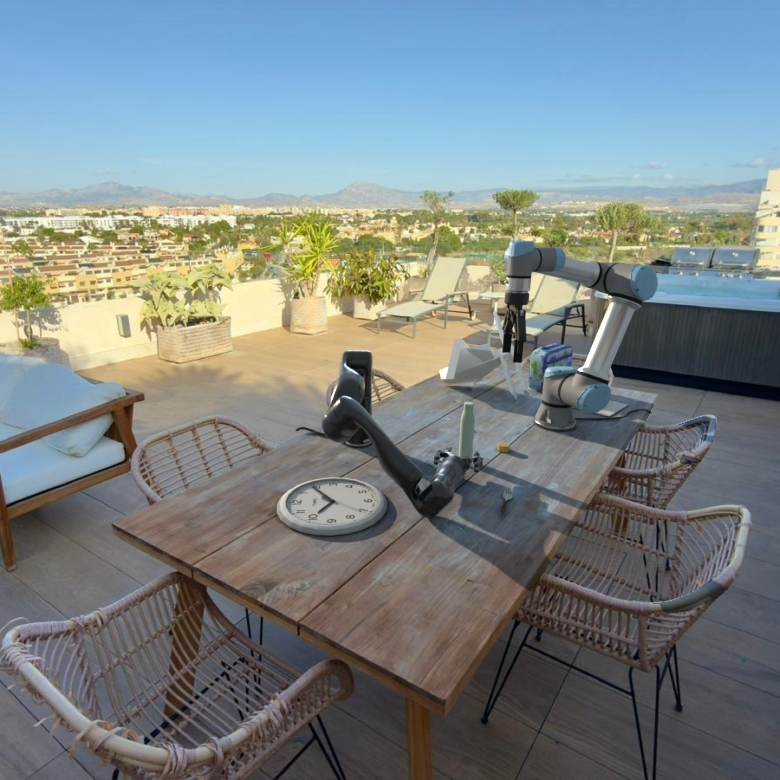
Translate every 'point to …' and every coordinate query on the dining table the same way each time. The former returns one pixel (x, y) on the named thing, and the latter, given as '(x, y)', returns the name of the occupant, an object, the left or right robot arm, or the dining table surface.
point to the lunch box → (547, 362)
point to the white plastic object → (480, 363)
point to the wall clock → (331, 506)
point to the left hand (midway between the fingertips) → (463, 451)
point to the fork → (506, 497)
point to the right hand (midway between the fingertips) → (511, 357)
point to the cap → (503, 446)
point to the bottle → (466, 430)
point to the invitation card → (611, 408)
